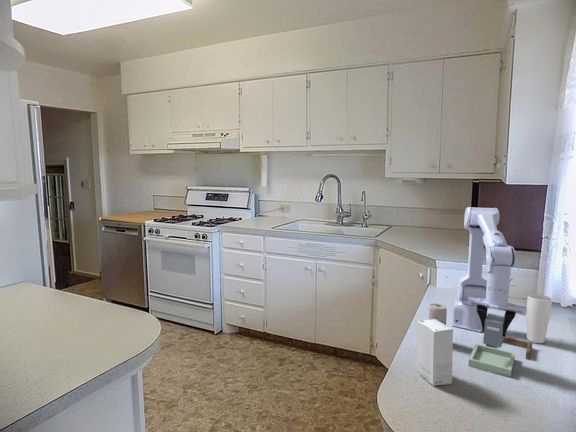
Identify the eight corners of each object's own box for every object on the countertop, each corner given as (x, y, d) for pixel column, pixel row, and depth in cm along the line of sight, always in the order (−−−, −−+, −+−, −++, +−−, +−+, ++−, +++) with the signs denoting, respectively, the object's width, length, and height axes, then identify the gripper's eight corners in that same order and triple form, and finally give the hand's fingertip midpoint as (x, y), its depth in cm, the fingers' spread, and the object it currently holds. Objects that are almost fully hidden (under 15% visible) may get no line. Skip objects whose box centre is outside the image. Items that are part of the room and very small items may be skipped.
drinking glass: (551, 346, 125) (555, 301, 123) (528, 343, 126) (532, 299, 124) (542, 337, 131) (546, 294, 130) (520, 335, 132) (524, 293, 131)
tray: (468, 365, 111) (468, 359, 110) (475, 349, 121) (476, 343, 121) (510, 377, 105) (511, 370, 104) (514, 359, 115) (515, 353, 115)
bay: (484, 348, 122) (484, 342, 122) (488, 338, 130) (488, 332, 129) (530, 359, 115) (530, 353, 115) (531, 348, 123) (532, 342, 122)
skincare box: (452, 384, 101) (456, 329, 99) (431, 387, 99) (435, 331, 98) (433, 368, 109) (436, 317, 107) (414, 370, 107) (417, 319, 106)
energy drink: (445, 340, 128) (447, 305, 126) (444, 346, 123) (446, 310, 122) (428, 337, 130) (430, 302, 129) (426, 343, 125) (428, 307, 124)
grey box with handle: (482, 344, 110) (484, 320, 109) (486, 335, 116) (488, 313, 116) (500, 348, 108) (502, 324, 107) (503, 339, 114) (505, 316, 113)
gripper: (467, 286, 111) (464, 331, 113) (526, 296, 103) (522, 344, 104) (471, 281, 117) (468, 324, 118) (528, 289, 109) (523, 336, 110)
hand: (494, 333), depth 112 cm, fingers closed on grey box with handle, 4 cm apart
